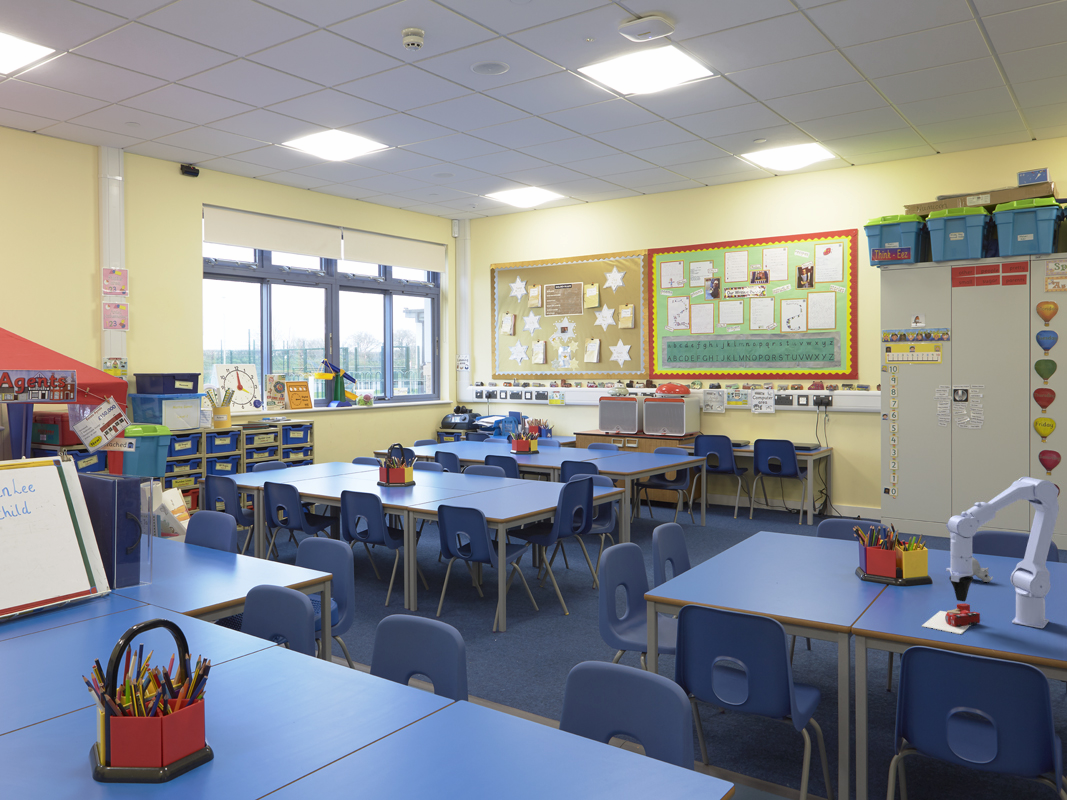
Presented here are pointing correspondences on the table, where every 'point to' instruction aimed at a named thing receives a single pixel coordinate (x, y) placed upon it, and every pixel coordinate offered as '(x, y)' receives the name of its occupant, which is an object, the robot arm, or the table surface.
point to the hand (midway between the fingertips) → (961, 600)
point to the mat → (943, 624)
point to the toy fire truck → (962, 616)
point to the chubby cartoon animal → (980, 571)
